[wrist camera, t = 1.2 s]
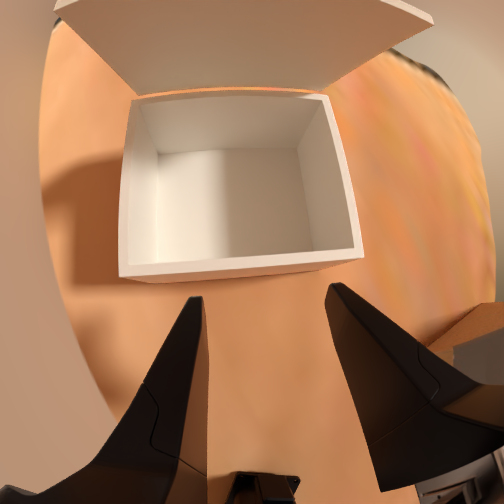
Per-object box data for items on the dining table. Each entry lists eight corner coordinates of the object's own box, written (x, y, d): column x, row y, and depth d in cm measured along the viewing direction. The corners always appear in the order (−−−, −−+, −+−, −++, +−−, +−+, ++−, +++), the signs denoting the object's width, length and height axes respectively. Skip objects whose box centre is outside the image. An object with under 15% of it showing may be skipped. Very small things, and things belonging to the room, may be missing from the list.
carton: (318, 270, 23) (364, 257, 15) (153, 283, 21) (118, 276, 13) (300, 146, 25) (327, 95, 17) (153, 153, 23) (131, 100, 15)
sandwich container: (404, 359, 23) (523, 387, 8) (481, 300, 25) (571, 292, 11) (414, 420, 22) (507, 465, 7) (487, 355, 24) (568, 363, 10)
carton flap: (434, 25, 5) (431, 15, 5) (53, 10, 4) (57, 0, 3) (321, 91, 17) (320, 85, 16) (138, 95, 15) (138, 89, 15)
